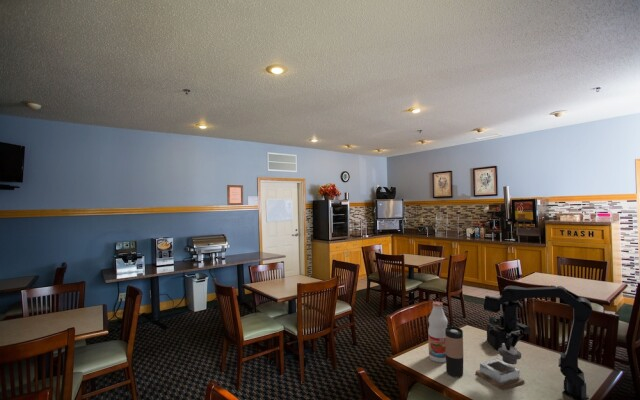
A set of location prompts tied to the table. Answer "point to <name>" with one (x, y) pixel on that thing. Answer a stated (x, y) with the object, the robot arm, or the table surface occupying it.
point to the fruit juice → (437, 333)
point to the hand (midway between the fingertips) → (509, 349)
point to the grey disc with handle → (509, 354)
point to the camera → (493, 339)
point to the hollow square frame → (502, 377)
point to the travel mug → (454, 351)
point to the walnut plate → (503, 386)
